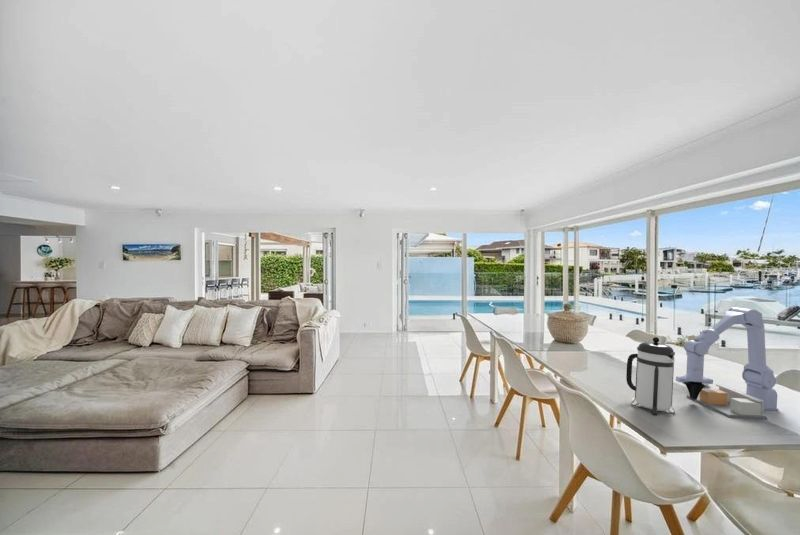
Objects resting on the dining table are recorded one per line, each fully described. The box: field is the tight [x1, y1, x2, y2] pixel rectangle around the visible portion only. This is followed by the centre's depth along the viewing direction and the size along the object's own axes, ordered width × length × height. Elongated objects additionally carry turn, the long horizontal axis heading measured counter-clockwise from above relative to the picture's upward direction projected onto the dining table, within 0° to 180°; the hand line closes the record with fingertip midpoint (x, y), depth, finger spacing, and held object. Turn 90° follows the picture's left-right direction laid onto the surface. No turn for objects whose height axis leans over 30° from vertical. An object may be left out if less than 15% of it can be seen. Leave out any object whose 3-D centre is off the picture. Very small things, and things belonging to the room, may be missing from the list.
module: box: [699, 388, 728, 405], centre depth 157 cm, size 8×4×5 cm, turn 88°
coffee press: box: [625, 336, 676, 416], centre depth 149 cm, size 17×16×30 cm
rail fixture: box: [686, 383, 768, 420], centre depth 154 cm, size 15×22×7 cm
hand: (693, 398), depth 158 cm, fingers closed
